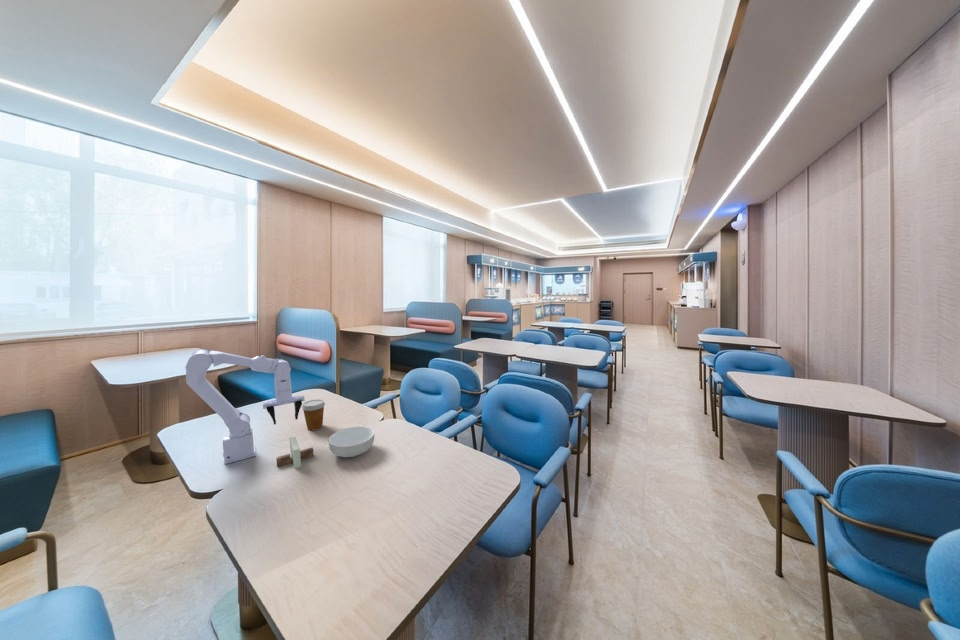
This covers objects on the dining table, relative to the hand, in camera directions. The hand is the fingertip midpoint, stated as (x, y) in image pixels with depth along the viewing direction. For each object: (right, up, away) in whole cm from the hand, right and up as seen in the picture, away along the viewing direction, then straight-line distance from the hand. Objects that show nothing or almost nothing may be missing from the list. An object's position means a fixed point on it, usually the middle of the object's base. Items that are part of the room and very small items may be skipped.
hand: (285, 421), depth 131 cm
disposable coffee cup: (+4, -8, +16) cm, 19 cm away
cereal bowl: (+30, -11, -6) cm, 33 cm away
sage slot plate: (+11, -11, -12) cm, 20 cm away
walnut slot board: (+11, -11, -12) cm, 20 cm away
